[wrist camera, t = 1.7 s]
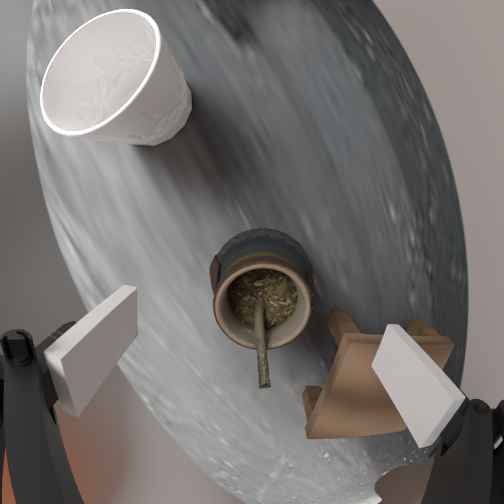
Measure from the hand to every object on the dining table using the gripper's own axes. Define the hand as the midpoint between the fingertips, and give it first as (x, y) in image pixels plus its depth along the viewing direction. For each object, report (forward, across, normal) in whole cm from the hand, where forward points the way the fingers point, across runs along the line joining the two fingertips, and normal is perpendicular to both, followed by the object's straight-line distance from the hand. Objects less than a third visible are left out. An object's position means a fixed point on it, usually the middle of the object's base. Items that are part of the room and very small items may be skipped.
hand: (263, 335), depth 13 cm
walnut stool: (+10, +12, -7) cm, 17 cm away
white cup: (+10, -11, +13) cm, 19 cm away
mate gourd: (+10, 0, +1) cm, 10 cm away
